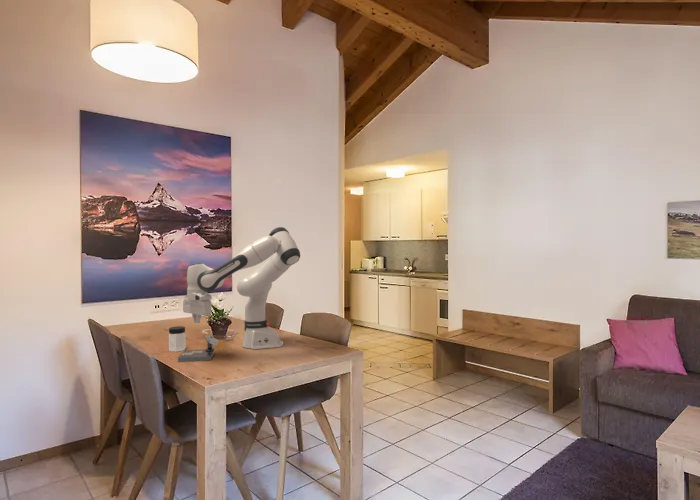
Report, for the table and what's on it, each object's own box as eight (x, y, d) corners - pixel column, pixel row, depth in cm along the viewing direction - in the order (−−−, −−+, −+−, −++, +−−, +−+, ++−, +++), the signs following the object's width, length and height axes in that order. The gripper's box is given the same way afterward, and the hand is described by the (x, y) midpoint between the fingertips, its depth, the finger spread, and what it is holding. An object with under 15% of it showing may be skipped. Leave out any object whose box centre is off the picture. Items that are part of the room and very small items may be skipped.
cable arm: (205, 343, 228) (205, 335, 228) (211, 342, 230) (211, 334, 229) (218, 349, 214) (218, 341, 214) (224, 348, 216) (224, 340, 216)
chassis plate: (214, 352, 230) (214, 342, 230) (210, 360, 215) (210, 348, 215) (184, 354, 227) (184, 343, 227) (178, 361, 212) (178, 350, 212)
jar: (165, 351, 234) (164, 328, 234) (175, 347, 242) (175, 325, 242) (179, 352, 231) (178, 329, 231) (189, 348, 239) (189, 326, 239)
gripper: (179, 294, 226) (179, 321, 226) (202, 297, 213) (202, 326, 214) (190, 293, 231) (190, 319, 231) (213, 296, 218) (214, 324, 219)
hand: (196, 322), depth 222 cm, fingers closed
